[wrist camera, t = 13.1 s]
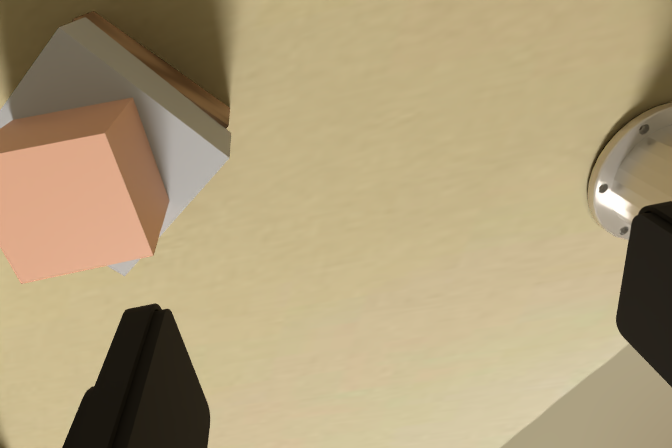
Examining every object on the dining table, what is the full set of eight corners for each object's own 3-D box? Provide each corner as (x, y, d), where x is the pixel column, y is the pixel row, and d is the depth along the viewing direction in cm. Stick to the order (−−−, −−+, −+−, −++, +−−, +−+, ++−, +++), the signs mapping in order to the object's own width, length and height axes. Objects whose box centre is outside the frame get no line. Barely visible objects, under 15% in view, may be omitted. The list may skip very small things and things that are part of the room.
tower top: (231, 132, 31) (229, 157, 28) (138, 239, 34) (124, 276, 30) (85, 17, 27) (59, 27, 23) (-9, 148, 30) (-48, 177, 26)
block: (133, 97, 25) (104, 133, 20) (169, 200, 28) (153, 255, 23) (12, 119, 25) (-49, 162, 20) (62, 222, 28) (21, 283, 22)
